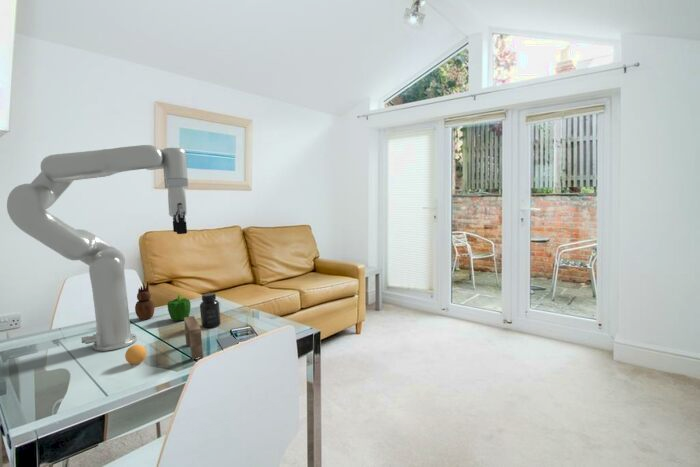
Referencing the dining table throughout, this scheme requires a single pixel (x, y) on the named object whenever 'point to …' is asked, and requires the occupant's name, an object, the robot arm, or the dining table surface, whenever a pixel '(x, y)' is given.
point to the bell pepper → (179, 308)
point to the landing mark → (230, 341)
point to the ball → (135, 354)
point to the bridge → (193, 337)
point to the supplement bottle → (210, 311)
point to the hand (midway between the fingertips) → (180, 232)
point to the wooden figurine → (144, 303)
